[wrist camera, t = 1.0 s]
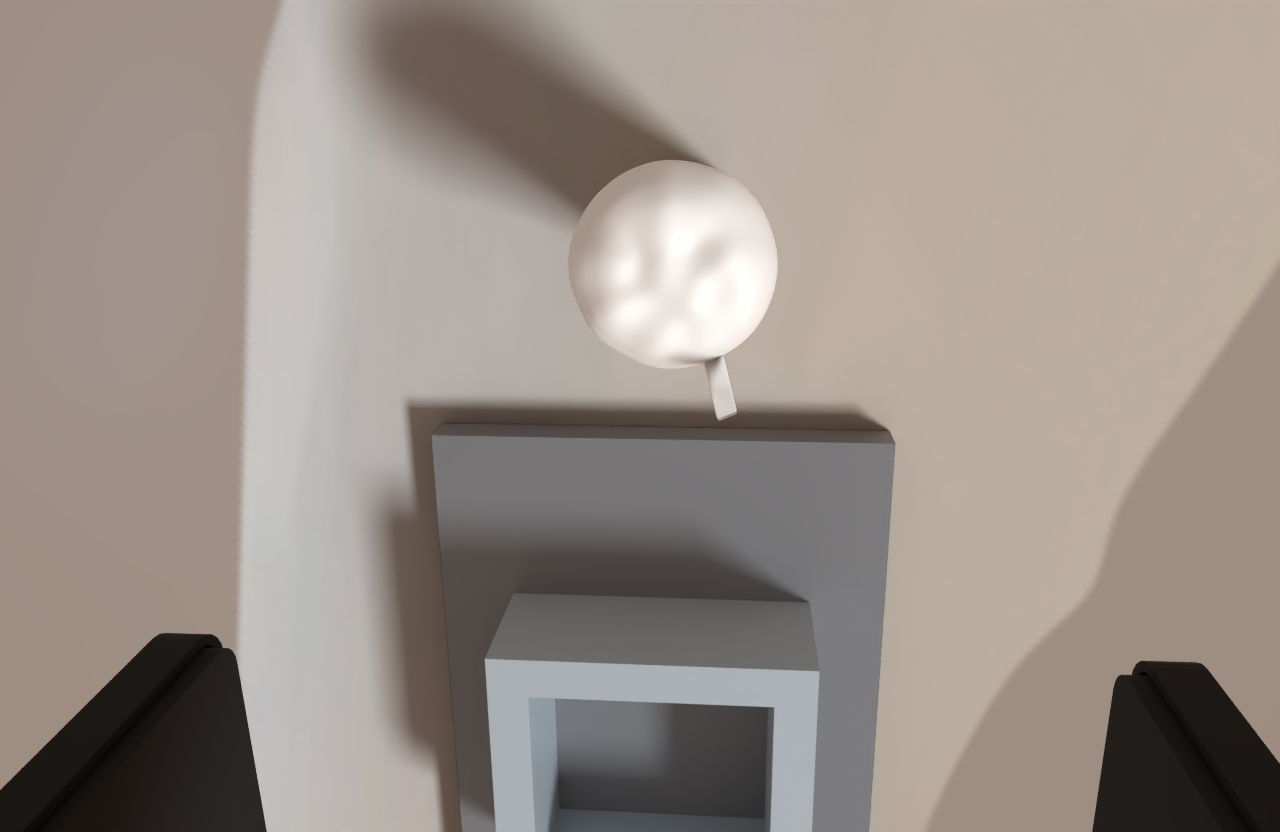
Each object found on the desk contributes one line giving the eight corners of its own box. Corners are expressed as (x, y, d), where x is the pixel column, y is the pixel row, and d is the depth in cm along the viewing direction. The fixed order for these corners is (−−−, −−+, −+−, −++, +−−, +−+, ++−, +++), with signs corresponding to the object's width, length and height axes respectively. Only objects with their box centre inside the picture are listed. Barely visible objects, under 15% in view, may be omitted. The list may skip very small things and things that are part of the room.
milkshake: (660, 344, 31) (628, 457, 22) (586, 180, 30) (516, 224, 21) (801, 285, 31) (830, 377, 21) (730, 113, 29) (727, 128, 20)
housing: (441, 423, 33) (389, 482, 28) (889, 430, 32) (917, 494, 27) (479, 927, 39) (441, 1049, 34) (855, 949, 38) (873, 1079, 33)
